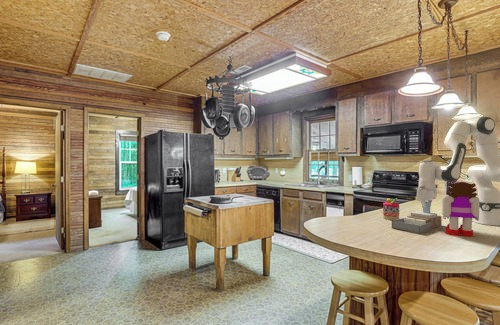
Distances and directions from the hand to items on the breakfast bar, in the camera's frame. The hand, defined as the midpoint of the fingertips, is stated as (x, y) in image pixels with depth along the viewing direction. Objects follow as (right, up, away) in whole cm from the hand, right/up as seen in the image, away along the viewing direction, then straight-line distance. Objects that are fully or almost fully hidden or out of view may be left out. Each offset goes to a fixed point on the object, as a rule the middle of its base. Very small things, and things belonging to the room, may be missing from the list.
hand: (426, 207), depth 178 cm
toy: (+4, -12, -23) cm, 26 cm away
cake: (-13, -12, +19) cm, 26 cm away
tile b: (-13, -8, -6) cm, 17 cm away
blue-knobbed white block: (-3, -6, -2) cm, 7 cm away
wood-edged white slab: (-3, -12, -2) cm, 12 cm away
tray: (-17, -12, -11) cm, 23 cm away
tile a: (-10, -9, -11) cm, 17 cm away
